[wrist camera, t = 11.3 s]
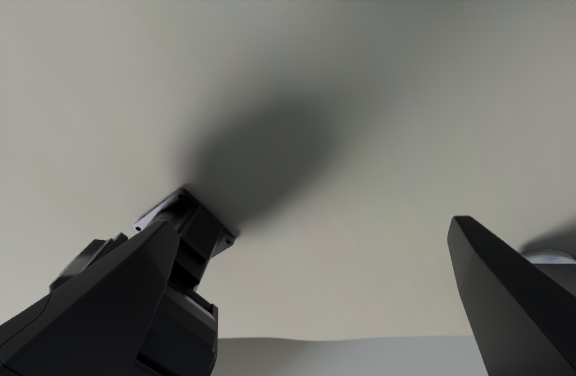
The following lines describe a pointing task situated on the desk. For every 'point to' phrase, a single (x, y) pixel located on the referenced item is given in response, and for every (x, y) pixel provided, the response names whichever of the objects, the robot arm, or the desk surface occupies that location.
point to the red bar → (548, 256)
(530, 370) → the robot arm
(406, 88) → the desk surface
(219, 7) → the desk surface
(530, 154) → the desk surface
